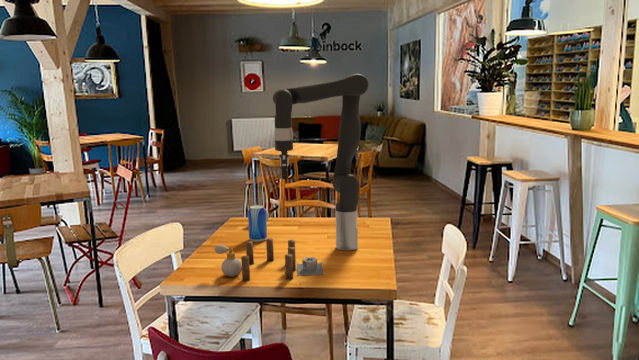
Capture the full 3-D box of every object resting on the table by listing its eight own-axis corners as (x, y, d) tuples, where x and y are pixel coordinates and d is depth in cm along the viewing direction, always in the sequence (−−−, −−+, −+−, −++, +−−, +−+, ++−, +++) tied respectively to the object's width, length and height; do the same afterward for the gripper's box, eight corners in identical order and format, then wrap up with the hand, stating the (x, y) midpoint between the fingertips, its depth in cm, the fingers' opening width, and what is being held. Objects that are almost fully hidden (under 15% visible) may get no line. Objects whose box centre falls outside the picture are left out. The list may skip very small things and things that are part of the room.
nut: (317, 266, 186) (316, 256, 186) (317, 271, 182) (317, 261, 181) (302, 266, 186) (302, 257, 185) (302, 271, 181) (302, 261, 180)
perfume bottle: (242, 278, 177) (240, 247, 174) (215, 280, 175) (213, 249, 173) (241, 270, 184) (240, 241, 182) (216, 273, 182) (214, 243, 180)
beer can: (264, 242, 217) (262, 209, 214) (246, 242, 219) (245, 208, 216) (269, 237, 225) (268, 204, 222) (252, 236, 227) (251, 204, 224)
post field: (295, 257, 197) (294, 237, 195) (295, 279, 174) (295, 256, 173) (247, 259, 196) (246, 239, 194) (242, 281, 173) (240, 258, 172)
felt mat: (321, 263, 190) (321, 263, 190) (323, 274, 178) (323, 274, 178) (297, 264, 189) (297, 263, 189) (297, 275, 178) (297, 275, 178)
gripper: (292, 140, 187) (294, 180, 190) (292, 136, 201) (293, 174, 204) (273, 140, 186) (275, 181, 190) (275, 137, 200) (276, 174, 204)
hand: (285, 177), depth 197 cm, fingers open, 8 cm apart
